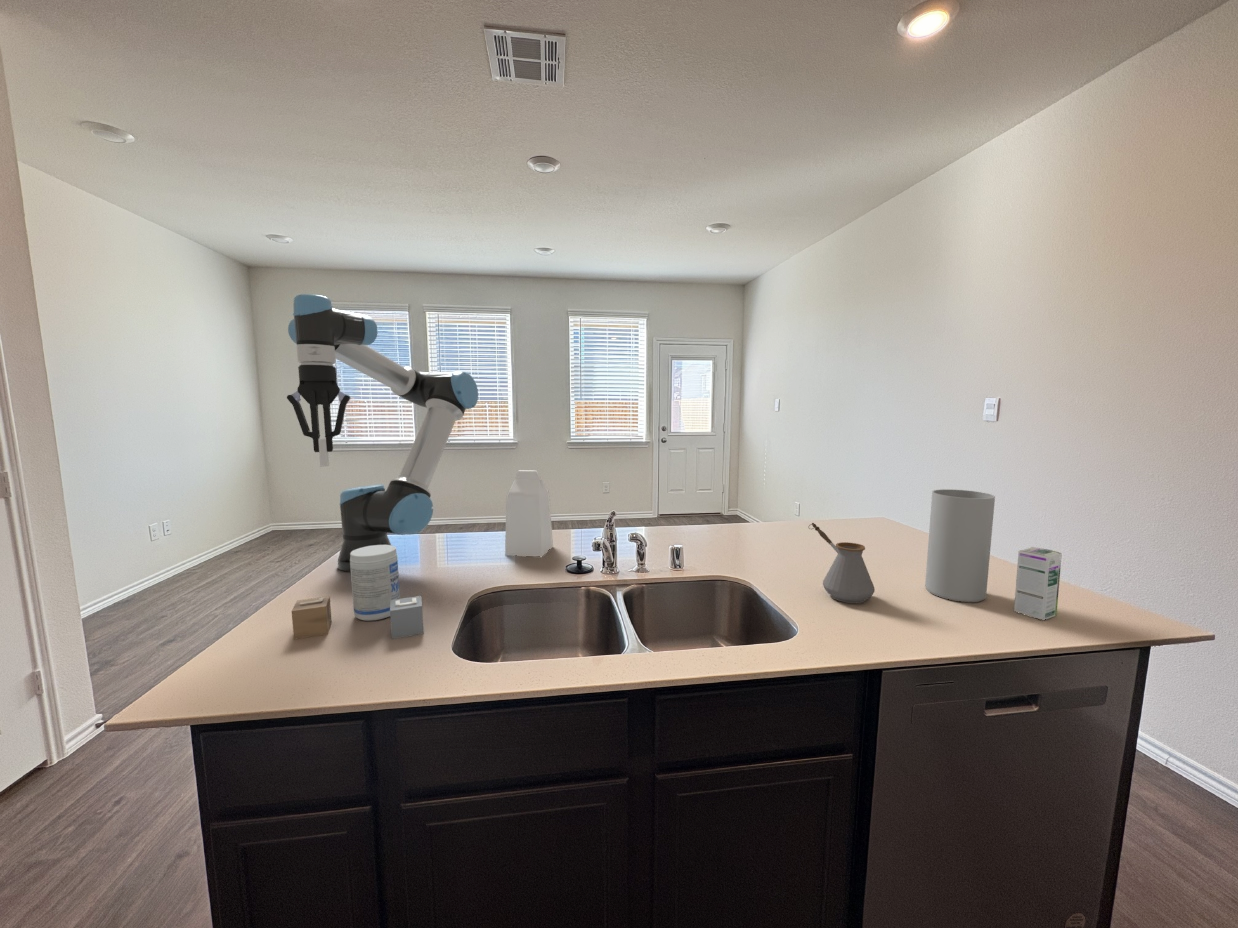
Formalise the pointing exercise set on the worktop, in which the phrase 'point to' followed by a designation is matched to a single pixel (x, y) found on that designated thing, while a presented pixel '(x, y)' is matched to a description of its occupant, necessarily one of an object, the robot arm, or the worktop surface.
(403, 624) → the slate grey marked block
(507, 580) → the worktop surface
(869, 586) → the coffee pot
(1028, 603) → the syrup box
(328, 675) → the worktop surface
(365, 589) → the supplement tub
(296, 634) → the walnut marked block
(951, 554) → the cylinder vase
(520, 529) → the milk
